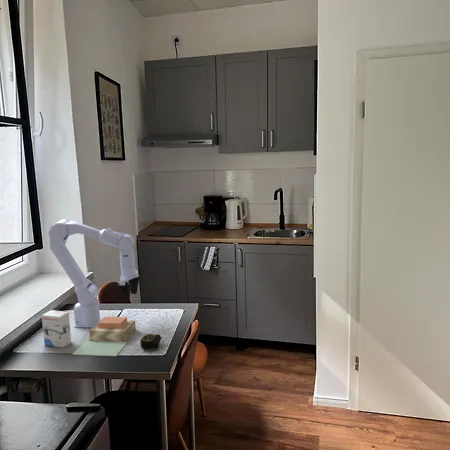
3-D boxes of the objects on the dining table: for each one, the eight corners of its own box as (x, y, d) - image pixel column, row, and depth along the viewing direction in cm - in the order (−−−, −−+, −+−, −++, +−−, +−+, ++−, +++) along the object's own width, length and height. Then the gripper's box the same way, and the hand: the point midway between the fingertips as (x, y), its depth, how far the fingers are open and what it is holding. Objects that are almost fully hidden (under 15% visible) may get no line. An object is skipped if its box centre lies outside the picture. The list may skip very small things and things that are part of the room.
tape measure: (158, 351, 143) (157, 341, 143) (138, 352, 144) (137, 342, 143) (162, 342, 150) (161, 333, 150) (143, 343, 151) (142, 333, 150)
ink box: (44, 345, 152) (40, 315, 150) (53, 339, 157) (50, 310, 155) (63, 348, 149) (59, 317, 147) (72, 341, 154) (69, 311, 152)
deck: (90, 340, 154) (89, 330, 154) (102, 329, 164) (101, 319, 163) (125, 341, 152) (124, 331, 151) (135, 330, 162) (135, 320, 161)
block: (98, 327, 156) (97, 322, 155) (105, 321, 161) (104, 316, 161) (121, 328, 154) (120, 323, 154) (127, 321, 160) (126, 316, 160)
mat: (72, 354, 144) (72, 354, 144) (86, 341, 153) (86, 341, 153) (116, 356, 141) (116, 355, 141) (127, 343, 151) (127, 342, 151)
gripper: (130, 269, 159) (133, 303, 162) (143, 259, 173) (146, 291, 176) (113, 269, 160) (116, 303, 163) (127, 259, 174) (130, 290, 177)
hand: (130, 296), depth 169 cm, fingers open, 7 cm apart
